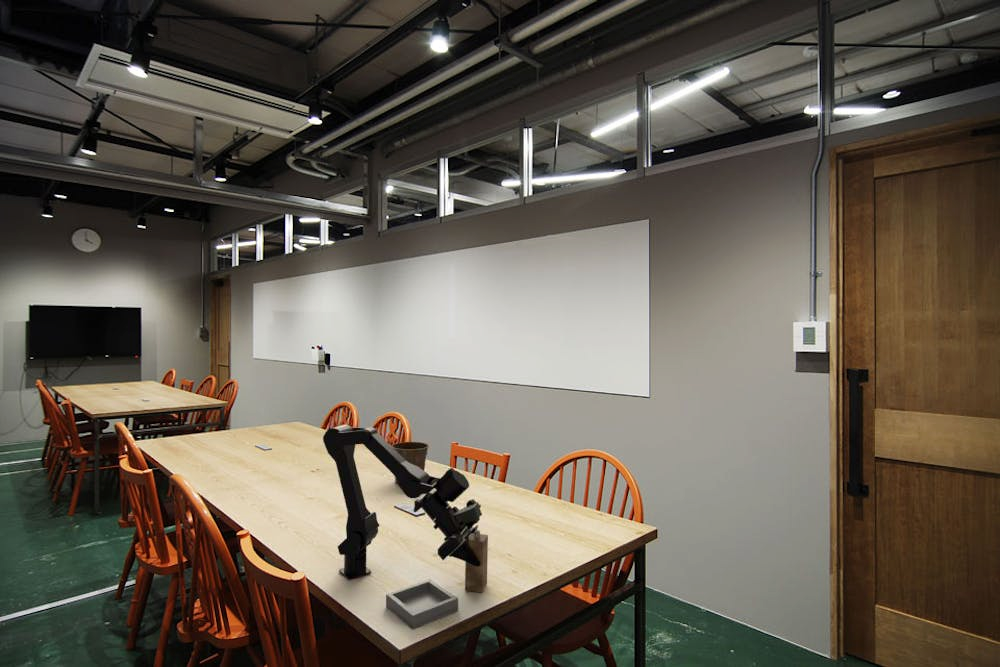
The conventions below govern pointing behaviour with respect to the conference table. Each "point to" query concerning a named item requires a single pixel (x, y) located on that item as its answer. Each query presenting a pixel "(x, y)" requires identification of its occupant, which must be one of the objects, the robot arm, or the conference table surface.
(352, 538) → the robot arm
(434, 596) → the tray
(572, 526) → the conference table surface
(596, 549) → the conference table surface
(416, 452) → the plant pot
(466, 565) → the block
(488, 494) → the conference table surface
